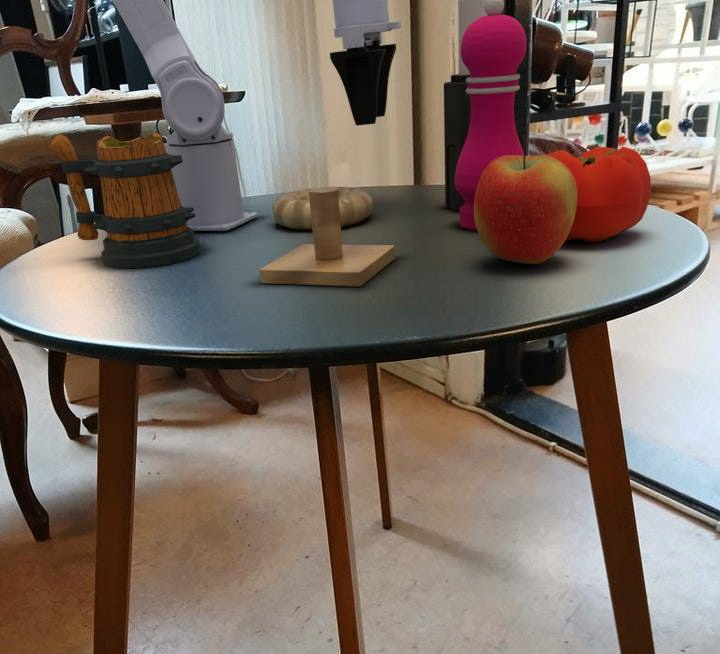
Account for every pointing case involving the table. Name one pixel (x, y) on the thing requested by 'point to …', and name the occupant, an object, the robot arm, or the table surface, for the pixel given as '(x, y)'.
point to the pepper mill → (489, 98)
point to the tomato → (607, 191)
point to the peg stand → (327, 252)
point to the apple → (525, 207)
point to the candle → (458, 106)
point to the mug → (131, 201)
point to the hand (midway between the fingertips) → (370, 120)
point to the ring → (297, 212)
